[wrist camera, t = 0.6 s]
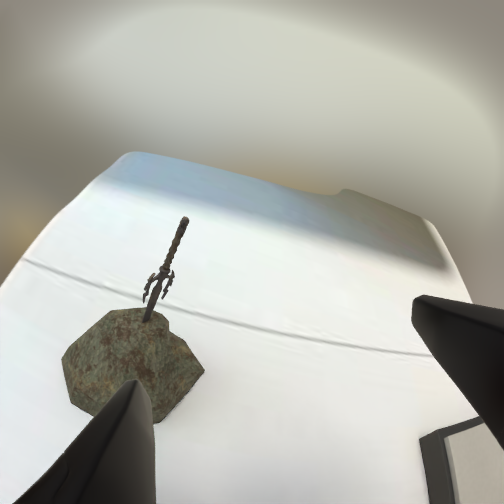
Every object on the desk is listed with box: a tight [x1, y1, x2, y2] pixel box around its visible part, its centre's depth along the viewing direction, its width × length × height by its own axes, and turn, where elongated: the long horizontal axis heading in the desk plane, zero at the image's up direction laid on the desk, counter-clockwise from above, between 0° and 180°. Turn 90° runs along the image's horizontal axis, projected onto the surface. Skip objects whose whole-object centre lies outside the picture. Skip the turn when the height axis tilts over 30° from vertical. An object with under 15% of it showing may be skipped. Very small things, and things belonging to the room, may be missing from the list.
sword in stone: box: [62, 217, 205, 423], centre depth 15 cm, size 10×8×12 cm
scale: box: [419, 416, 504, 504], centre depth 14 cm, size 14×11×3 cm
